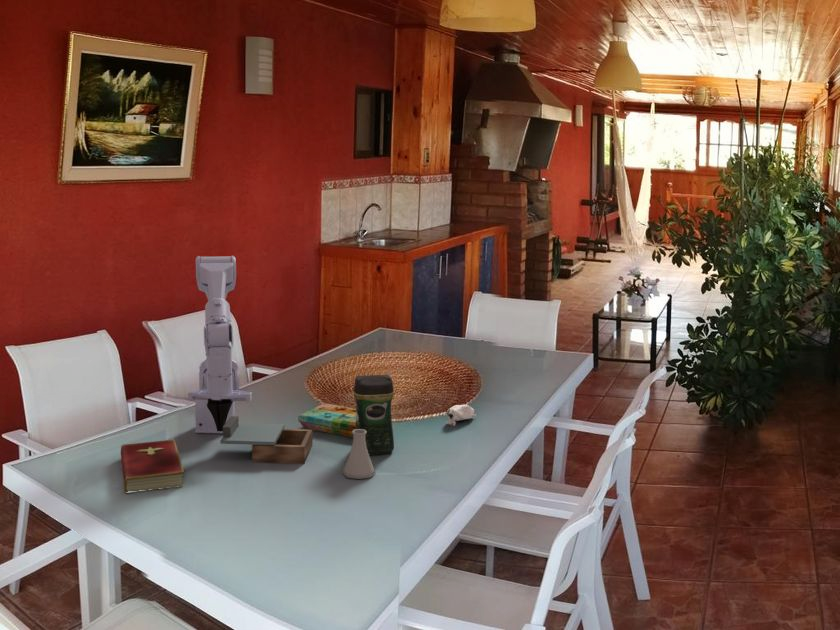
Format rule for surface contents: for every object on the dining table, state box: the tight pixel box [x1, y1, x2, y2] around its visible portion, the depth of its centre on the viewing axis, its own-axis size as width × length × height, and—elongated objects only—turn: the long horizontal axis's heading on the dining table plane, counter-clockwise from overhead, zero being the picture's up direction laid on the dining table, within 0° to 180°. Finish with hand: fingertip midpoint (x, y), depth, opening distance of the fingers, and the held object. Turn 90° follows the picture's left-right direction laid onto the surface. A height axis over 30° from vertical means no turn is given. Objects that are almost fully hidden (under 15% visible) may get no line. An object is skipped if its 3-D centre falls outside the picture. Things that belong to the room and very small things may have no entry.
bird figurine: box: [445, 404, 477, 427], centre depth 228 cm, size 5×7×10 cm
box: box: [251, 428, 313, 465], centre depth 202 cm, size 12×12×4 cm
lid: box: [220, 415, 285, 446], centre depth 201 cm, size 12×12×3 cm
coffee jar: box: [353, 374, 395, 456], centre depth 204 cm, size 10×8×19 cm
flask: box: [342, 429, 376, 480], centre depth 190 cm, size 7×7×10 cm
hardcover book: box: [120, 439, 185, 492], centre depth 189 cm, size 12×21×4 cm, turn 21°
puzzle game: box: [297, 402, 356, 438], centre depth 220 cm, size 12×5×20 cm
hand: (221, 429), depth 202 cm, fingers closed
